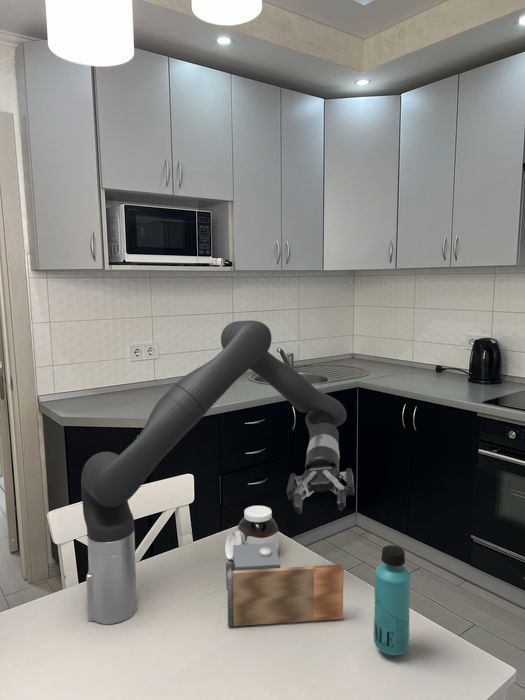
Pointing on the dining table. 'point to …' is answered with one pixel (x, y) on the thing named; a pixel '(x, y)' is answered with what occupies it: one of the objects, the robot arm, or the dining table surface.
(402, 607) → the beverage bottle
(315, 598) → the door
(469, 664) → the dining table surface
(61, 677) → the dining table surface
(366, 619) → the dining table surface
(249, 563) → the box
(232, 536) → the spread jar
